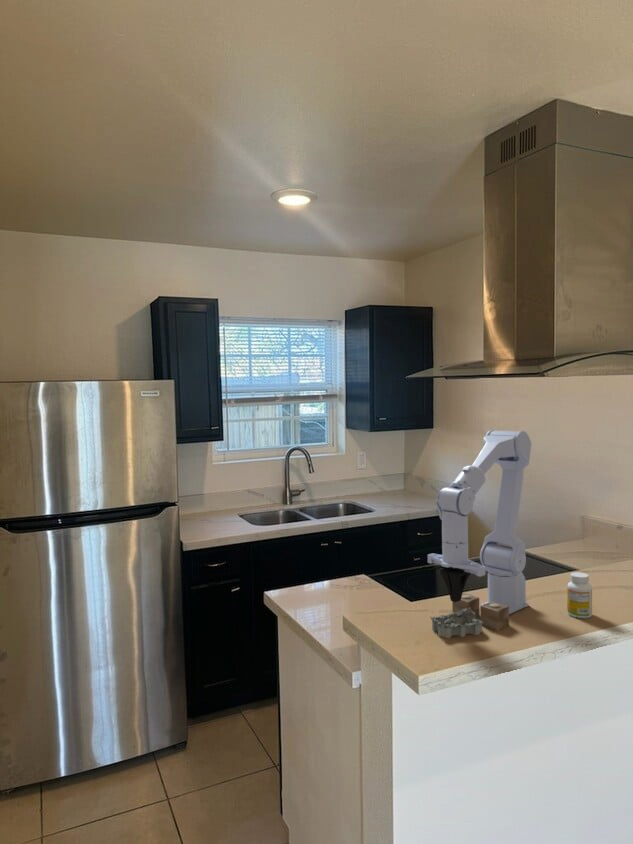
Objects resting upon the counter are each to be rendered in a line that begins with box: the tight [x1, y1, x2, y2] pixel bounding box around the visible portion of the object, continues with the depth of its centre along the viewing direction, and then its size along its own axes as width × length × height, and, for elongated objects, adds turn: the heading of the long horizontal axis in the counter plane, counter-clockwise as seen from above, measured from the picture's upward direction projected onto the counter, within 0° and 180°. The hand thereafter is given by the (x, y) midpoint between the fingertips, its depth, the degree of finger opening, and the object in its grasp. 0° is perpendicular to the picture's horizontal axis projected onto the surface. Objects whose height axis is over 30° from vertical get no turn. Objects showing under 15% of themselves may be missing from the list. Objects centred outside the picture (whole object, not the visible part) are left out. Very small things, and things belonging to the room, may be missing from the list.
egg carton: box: [430, 608, 484, 639], centre depth 133 cm, size 11×8×4 cm
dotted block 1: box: [451, 592, 481, 618], centre depth 142 cm, size 4×4×5 cm
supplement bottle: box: [566, 571, 593, 619], centre depth 140 cm, size 5×5×10 cm
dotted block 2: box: [479, 601, 510, 631], centre depth 136 cm, size 4×4×5 cm
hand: (455, 600), depth 133 cm, fingers closed
